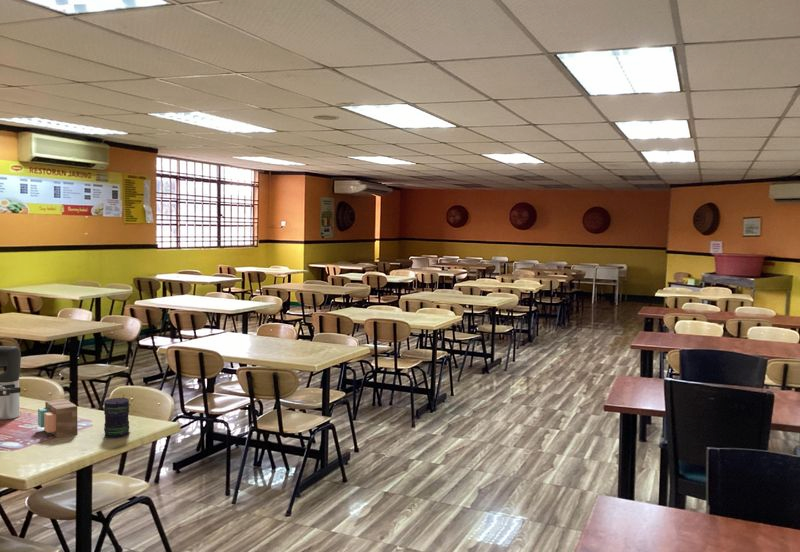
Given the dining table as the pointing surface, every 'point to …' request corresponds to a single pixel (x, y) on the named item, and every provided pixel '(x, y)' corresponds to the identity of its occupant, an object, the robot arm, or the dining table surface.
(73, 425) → the walnut console
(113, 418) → the dark blue barrel
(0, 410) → the robot arm
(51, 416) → the terracotta button
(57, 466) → the dining table surface
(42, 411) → the grey-green piece
